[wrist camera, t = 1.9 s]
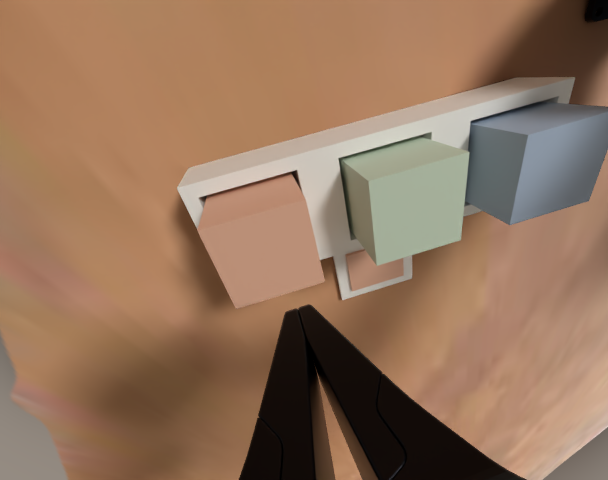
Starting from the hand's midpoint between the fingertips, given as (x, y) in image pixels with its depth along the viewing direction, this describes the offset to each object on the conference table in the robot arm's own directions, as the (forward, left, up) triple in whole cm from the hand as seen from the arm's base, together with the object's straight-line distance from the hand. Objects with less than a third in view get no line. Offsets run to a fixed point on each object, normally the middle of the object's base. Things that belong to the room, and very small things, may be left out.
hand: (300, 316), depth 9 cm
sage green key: (-7, +1, -10) cm, 12 cm away
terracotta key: (+1, +1, -10) cm, 10 cm away
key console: (-7, +1, -13) cm, 14 cm away
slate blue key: (-15, +1, -10) cm, 18 cm away
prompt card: (-7, +9, -13) cm, 17 cm away
